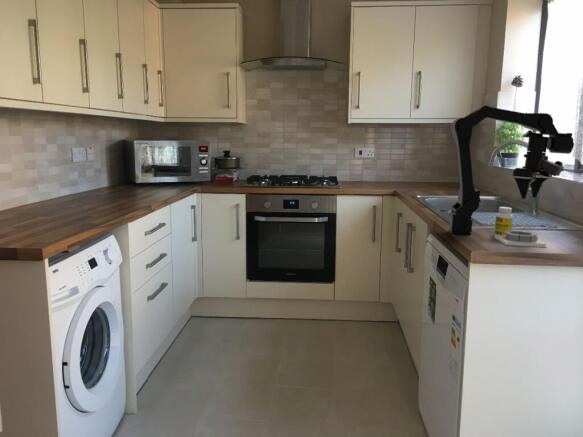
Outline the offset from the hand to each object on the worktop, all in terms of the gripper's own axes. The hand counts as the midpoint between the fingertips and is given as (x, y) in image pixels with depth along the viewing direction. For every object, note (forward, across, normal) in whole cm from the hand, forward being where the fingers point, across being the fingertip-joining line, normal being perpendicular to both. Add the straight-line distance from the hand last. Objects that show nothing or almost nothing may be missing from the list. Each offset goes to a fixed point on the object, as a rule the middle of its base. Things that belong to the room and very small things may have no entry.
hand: (529, 198), depth 159 cm
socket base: (+13, -12, -3) cm, 18 cm away
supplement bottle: (+14, -6, +5) cm, 16 cm away
